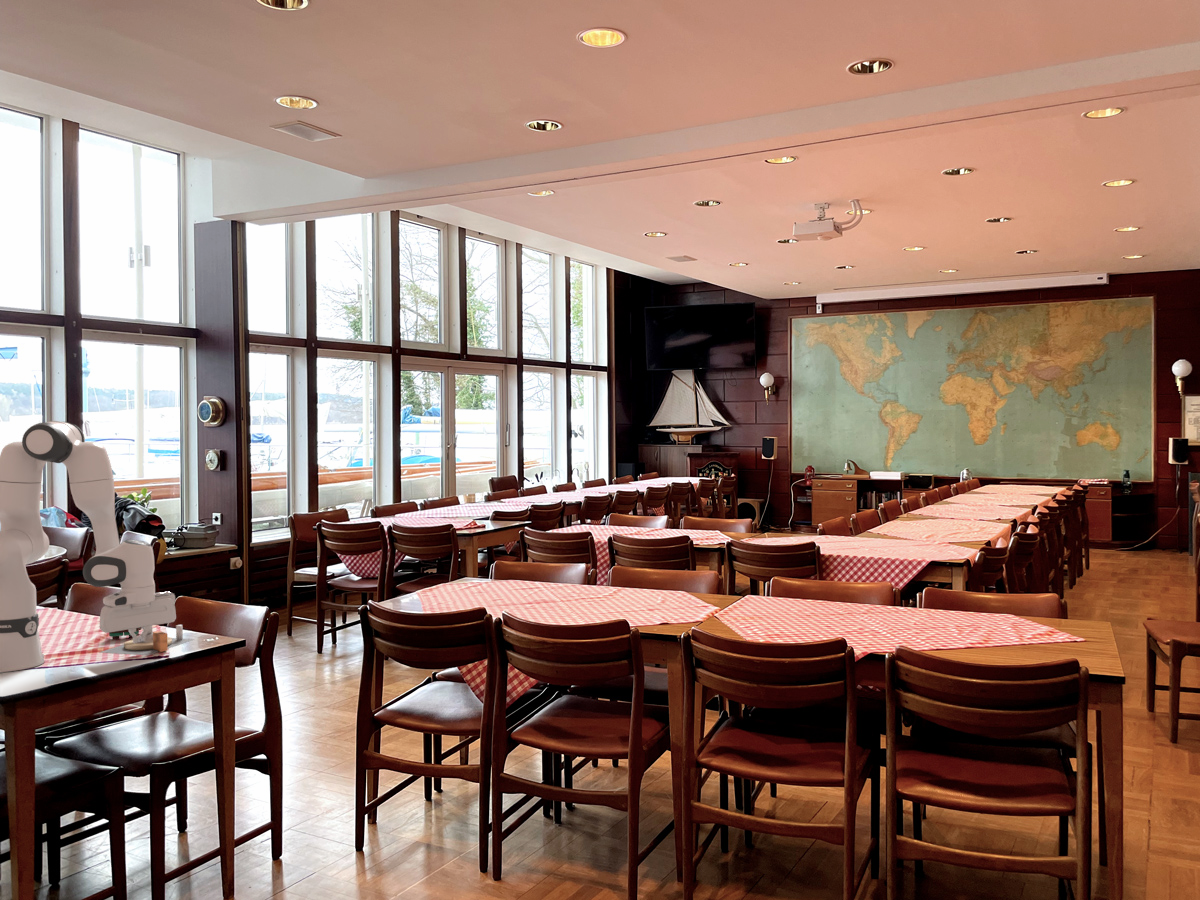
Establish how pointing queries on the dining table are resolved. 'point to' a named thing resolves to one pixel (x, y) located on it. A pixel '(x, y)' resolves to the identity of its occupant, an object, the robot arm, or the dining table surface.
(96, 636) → the dining table surface
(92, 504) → the robot arm
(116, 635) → the binoculars
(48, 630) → the dining table surface
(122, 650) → the base plate
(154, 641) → the maple flange
